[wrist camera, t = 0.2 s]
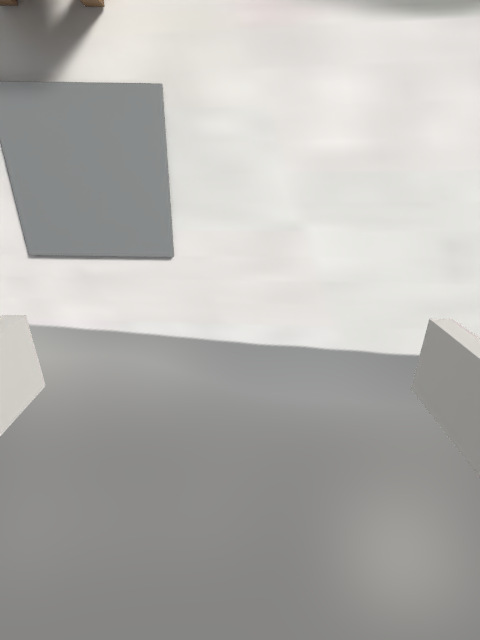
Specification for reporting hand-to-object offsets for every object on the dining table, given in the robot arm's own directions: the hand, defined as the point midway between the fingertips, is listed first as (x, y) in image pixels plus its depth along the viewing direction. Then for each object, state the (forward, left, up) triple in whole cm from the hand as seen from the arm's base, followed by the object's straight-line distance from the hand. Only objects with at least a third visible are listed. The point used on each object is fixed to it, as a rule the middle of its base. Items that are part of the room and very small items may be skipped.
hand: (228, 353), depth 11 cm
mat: (-5, -15, -27) cm, 32 cm away
